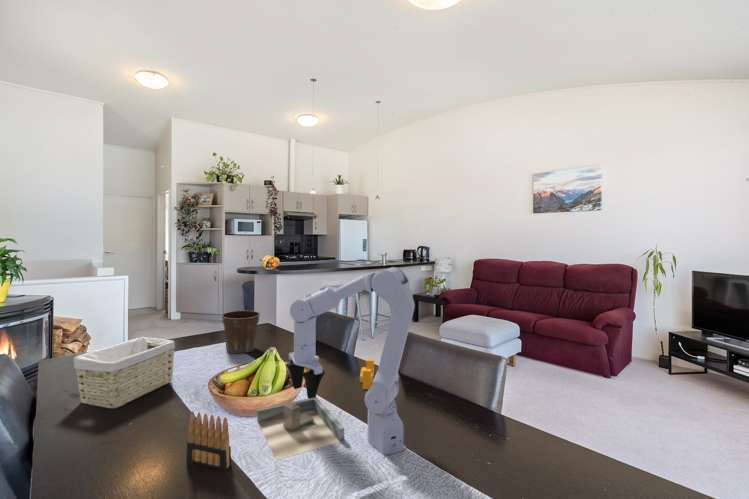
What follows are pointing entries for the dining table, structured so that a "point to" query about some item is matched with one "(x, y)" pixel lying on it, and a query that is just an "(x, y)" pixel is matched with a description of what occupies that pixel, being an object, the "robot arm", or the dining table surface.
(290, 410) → the bracket
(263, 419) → the tray
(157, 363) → the storage basket
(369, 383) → the pipe clamp
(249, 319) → the plant pot
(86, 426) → the dining table surface
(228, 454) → the ammunition clip
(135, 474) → the dining table surface
